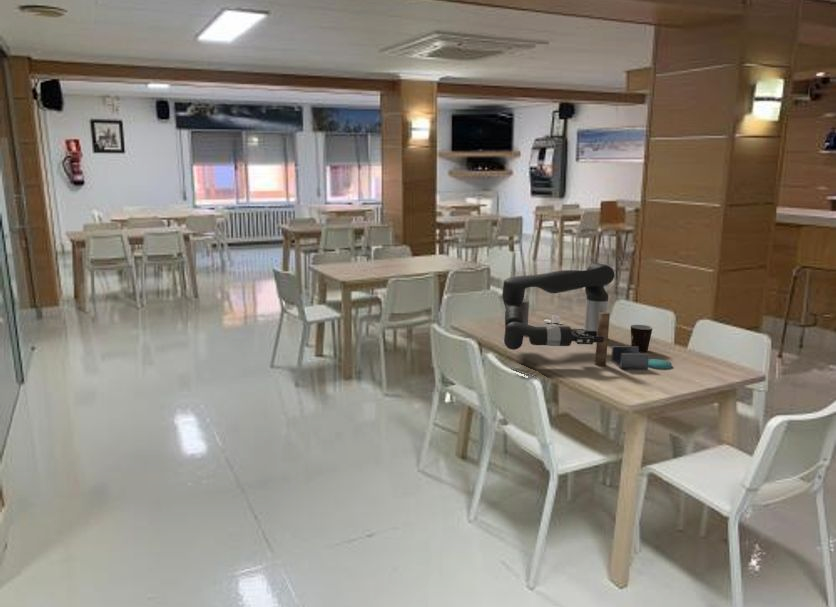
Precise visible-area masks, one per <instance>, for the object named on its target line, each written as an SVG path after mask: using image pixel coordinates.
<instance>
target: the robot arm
mask: <svg viewBox="0 0 836 607" xmlns="http://www.w3.org/2000/svg"><path fill="white" fill-rule="evenodd" d="M615 276H616V274H615V271H614V269H613V268H612V267H611V266H610V265H607V264H603V263H599V262H593V263H591V264H589V265H588V267H587V269H585V270H577V269H564V270H562V269H561V270H557V271H551V272H550V271H549V272H546V273H539V274H532V275H531V274H529V275H517V276H510V277H507V278H506V279H504V281H503V286H502V293H501V295H502V296H501V297H502V301H503V304H504V308H505V313H504V314H505V315H504V327H505V328H504V337H503V342H504V345H505V347H507V349H509V350H513V351H514V350H518V349H520V348H521V347H522V345H523V342H524V336H527V337H528V340H529V343H530V344H531V345H533V346H550V347H570V346H571V344H572V342H575V343H576V344H577V345H591V346H592V345H594V343H597V342H598V343H602V342H603V341H604V337H602V336H597V331H598V317H599V313H600V312H605V313H608V306H609V293H608V292H607V291H606V290H605V286H607V285H609V284H611V283H612V282H613V281H614V278H615ZM528 288H538V289H541V290H543V291H544V292H547V293H548V294H559V293H564V292H569V291H575V290H578V289H579V290H580V289H583V288H585V289H584V292H585V294H586V303H585V318H584V328H571V326H567V325H565V326H563V325H550V326H533V325H532V324H531V325H530V324H528V325H527V324H523V314H522V311H521V305H522V302H523V299H525V295H526V294H525V292H526V290H527V289H528Z"/></svg>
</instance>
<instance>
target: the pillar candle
mask: <svg viewBox="0 0 836 607" xmlns="http://www.w3.org/2000/svg"><path fill="white" fill-rule="evenodd" d="M529 309H530V300H528V299H525V298H524V299H523V302H522V305H521V311H522V314H523V324H527V325H529V311H530V310H529Z"/></svg>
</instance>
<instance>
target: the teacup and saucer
mask: <svg viewBox="0 0 836 607" xmlns="http://www.w3.org/2000/svg"><path fill="white" fill-rule="evenodd" d="M551 319H552V320H550V319H544V320H543V321H544V323H546V324H547V323H550V324H553V323H557V324H560V323H559V322H561V320H562V318H561V316H559V315H553V314H552V315H551Z"/></svg>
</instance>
